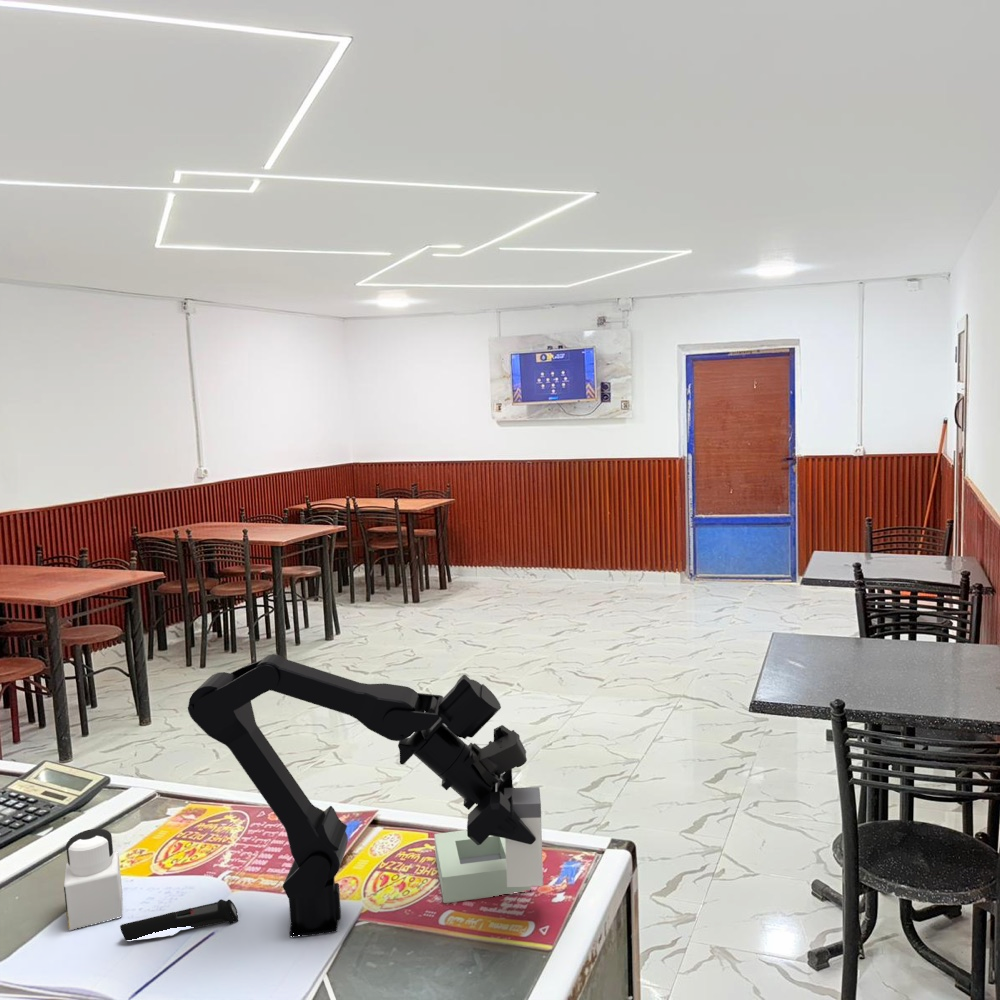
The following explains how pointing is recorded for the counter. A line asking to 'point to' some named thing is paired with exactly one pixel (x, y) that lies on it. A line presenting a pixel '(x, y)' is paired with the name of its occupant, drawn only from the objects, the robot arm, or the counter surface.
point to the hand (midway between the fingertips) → (533, 831)
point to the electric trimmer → (182, 919)
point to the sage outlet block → (471, 867)
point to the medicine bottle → (92, 879)
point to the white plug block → (523, 857)
